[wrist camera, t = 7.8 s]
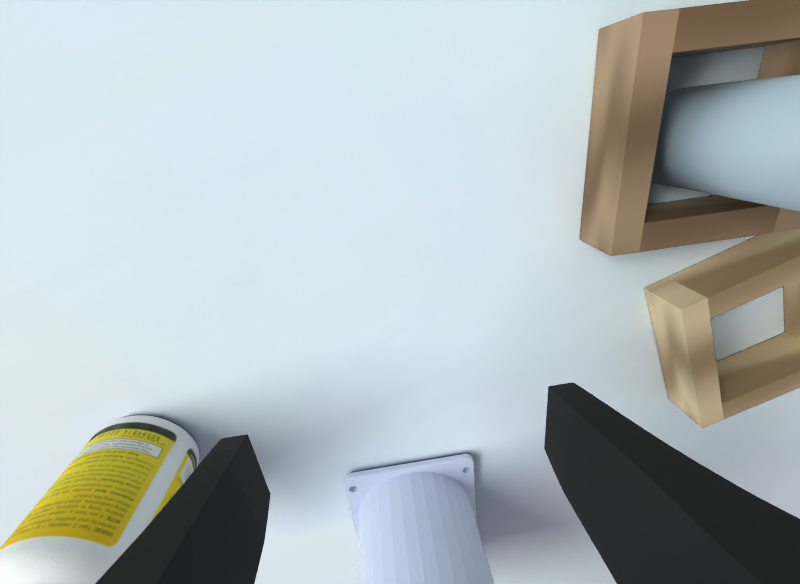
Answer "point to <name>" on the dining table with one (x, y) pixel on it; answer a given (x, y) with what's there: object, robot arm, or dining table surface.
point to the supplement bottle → (100, 503)
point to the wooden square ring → (641, 117)
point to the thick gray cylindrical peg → (733, 141)
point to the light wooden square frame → (713, 295)
